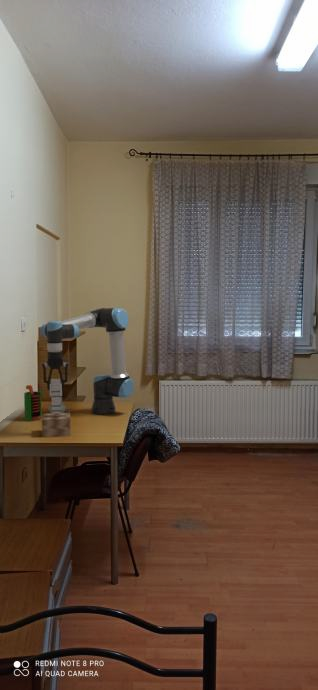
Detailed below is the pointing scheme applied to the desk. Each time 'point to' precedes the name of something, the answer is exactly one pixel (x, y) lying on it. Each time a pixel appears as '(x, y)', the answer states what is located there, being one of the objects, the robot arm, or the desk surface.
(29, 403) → the motor
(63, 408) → the air freshener
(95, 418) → the desk surface
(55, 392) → the column
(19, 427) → the desk surface
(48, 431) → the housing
